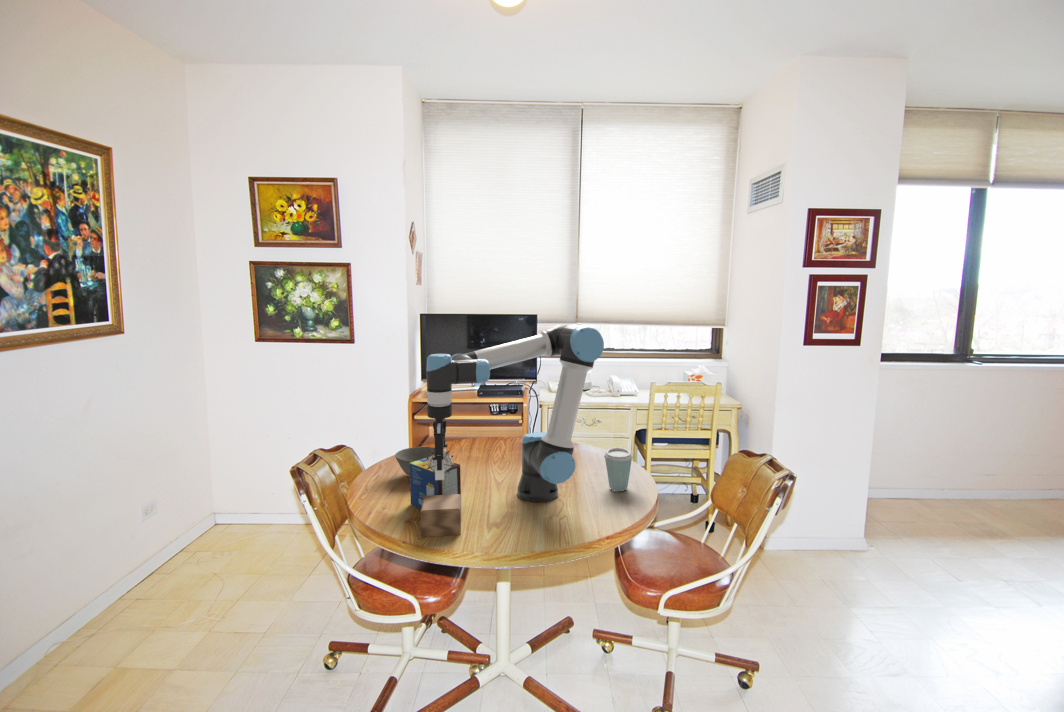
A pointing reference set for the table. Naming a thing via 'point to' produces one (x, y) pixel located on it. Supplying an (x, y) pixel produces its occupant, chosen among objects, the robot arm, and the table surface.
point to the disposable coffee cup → (618, 467)
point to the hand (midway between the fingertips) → (440, 473)
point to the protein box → (432, 482)
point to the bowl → (412, 456)
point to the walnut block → (441, 515)
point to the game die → (446, 462)
